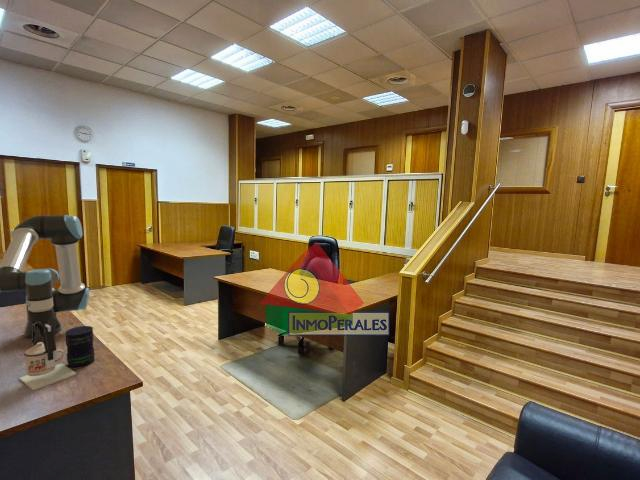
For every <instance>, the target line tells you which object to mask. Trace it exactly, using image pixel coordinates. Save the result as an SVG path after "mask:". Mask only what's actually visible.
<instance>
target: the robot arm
mask: <svg viewBox="0 0 640 480" xmlns="http://www.w3.org/2000/svg"><path fill="white" fill-rule="evenodd" d="M10 236H11V241H10V243H9V245H8V247H7V249H6V251H5V253H4V255H3V257H2V260H1V262H0V293H5V292H17V291H25V292H26V295H25V306H26V318H27V322H26V324H25V325H26V326H25V328H24V331H23V334H24V335H23V336H24V338H27V339H31V343H32V344H33V345H34V346H35V345H36V343H38V342H42V343H43V344H44V347H45V352H44V354H45V366H46V369H48V368H51V367H54V366H55V365H56V363H55V360H56V359H55V360H54V354H55V353H54V351H56V350H57V344H56V340H55V338H56V337H55V334H58V333H59V332H61V331H62V325H61V322H60V321H59V319H58V317H57V313H63V312H72V311H79V310H85V309H87V307H88V304H89V298H90V288H89V287H86V285H85V283H83V282H82V280H81V273H80V272H81V271H80V264H79V255H78V247H77V244H78V243H79V242H80V239H82V237H83V227H82V222H81V220H80V219H79V217H77V216H75V215H68V214H64V215H63V214H62V215H60V214H59V215H57V214H55V215H47V214H46V215H44V214H42V215H40V214H39V215H34V216H31V217H28V218H26V219H24V220H23V221H21V222H20V223H19V224H17V225H16V226H15V227H14V228H13V230H12V232H11V235H10ZM39 240H50V244H51V245H53V246H54V247H55V254H56V260H57V267H58V268H57V269H58V270H56V269H54V268H39V269H31V270H26V271H23V270H24V269H25V267H26V264H27V262H28V259H29V257H30V254H31V252H32V249H33V248H34V247H33V246H34V245H35V244H36V243H37V242H38V241H39ZM59 280H60V286H59V287H58V288H57V290H56V289H55V288H54V286H56V285H57V284H58V282H59Z"/></svg>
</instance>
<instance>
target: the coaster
mask: <svg viewBox="0 0 640 480" xmlns="http://www.w3.org/2000/svg"><path fill="white" fill-rule="evenodd" d="M76 375H77V372H76V371H75V370H73V369H72V368H69V367H68V366H66V365H64V364H63V363H59V364H55V369H54V370H53V371H51V372H49V373H47V374H44V375H40V376H29V375H27V374H26V375H24V376H21V377H19V380H20V381H21V382H23V384H25V385H26V386H27V387H28V388H30V389H31V390H32V391H36V390H39V389H41V388H44V387H47V386H50V385H53V384H55V383H57V382H61V381H63V380H65V379H69V378H70V377H74V376H76Z"/></svg>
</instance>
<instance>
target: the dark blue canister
mask: <svg viewBox="0 0 640 480" xmlns="http://www.w3.org/2000/svg"><path fill="white" fill-rule="evenodd" d="M94 335H95V334H94V327H93V326H90V325H81V326H76V327H73V328H70V329H67V330H66V331H65V345H66V349H67V350H66V351H67V353H66V362H67V367H68V368H69V369H80V368H84V367H88V366H89V365H91V364H93V363H94V362H95V359H96V358H95V356H96V355H95V354H96V353H95V347H94V339H95V338H94Z"/></svg>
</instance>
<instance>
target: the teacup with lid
mask: <svg viewBox="0 0 640 480" xmlns="http://www.w3.org/2000/svg"><path fill="white" fill-rule="evenodd" d="M44 352H45V347H44V344H43V343H42V342H38V343H36V345H34V346H31V347H30V348H27V349H26V350H25V352H24V356H25V366H26V375H29V376H40V375H44V374H47V373H49V372H51V371H53V370H54V369H55V366H54V367H51V368H48V369H46V366H45V354H44ZM59 352H60V353H62V355H61V356H60V358H58V359H56V357H55V355H56V354H55V353H59ZM64 357H65V350H63V349H59V348H58V349H56V351H54V360H55V364H56V363H58V362H60V361H63V359H64Z"/></svg>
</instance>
